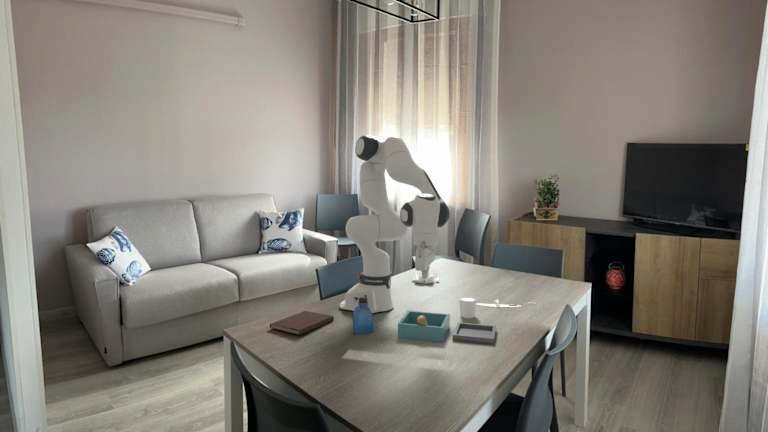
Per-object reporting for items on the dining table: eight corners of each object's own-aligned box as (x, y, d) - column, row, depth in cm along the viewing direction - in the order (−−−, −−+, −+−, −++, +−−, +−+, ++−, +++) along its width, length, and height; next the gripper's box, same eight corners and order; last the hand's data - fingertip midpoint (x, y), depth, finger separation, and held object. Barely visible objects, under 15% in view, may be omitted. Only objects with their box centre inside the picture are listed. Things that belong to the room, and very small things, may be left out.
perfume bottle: (356, 334, 184) (356, 301, 183) (353, 328, 190) (352, 297, 188) (373, 332, 186) (373, 300, 184) (369, 327, 192) (369, 295, 190)
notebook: (269, 327, 192) (269, 322, 192) (304, 314, 209) (304, 309, 208) (299, 335, 184) (299, 329, 184) (333, 320, 200) (333, 315, 200)
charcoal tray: (452, 340, 178) (452, 334, 178) (457, 327, 192) (457, 322, 191) (493, 344, 174) (493, 338, 174) (495, 331, 188) (496, 325, 188)
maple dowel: (417, 329, 187) (415, 320, 179) (423, 322, 188) (420, 313, 180) (424, 334, 185) (422, 326, 178) (430, 327, 186) (428, 318, 179)
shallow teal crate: (397, 337, 181) (397, 323, 180) (407, 323, 196) (407, 310, 195) (442, 342, 176) (443, 327, 176) (449, 327, 192) (449, 314, 191)
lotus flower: (443, 284, 257) (443, 267, 256) (436, 291, 243) (436, 273, 242) (416, 281, 261) (416, 265, 260) (407, 288, 247) (407, 271, 246)
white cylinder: (475, 319, 201) (476, 302, 201) (458, 318, 203) (458, 300, 202) (476, 314, 208) (476, 297, 207) (459, 313, 209) (459, 296, 209)
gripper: (429, 245, 171) (428, 285, 173) (439, 235, 191) (438, 272, 193) (410, 244, 173) (410, 284, 175) (422, 235, 193) (421, 271, 194)
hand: (425, 277), depth 184 cm, fingers closed
